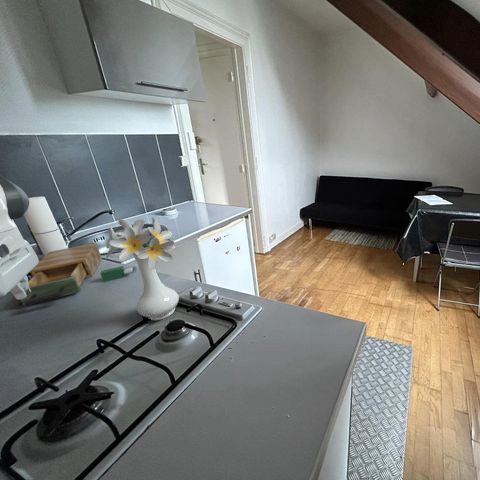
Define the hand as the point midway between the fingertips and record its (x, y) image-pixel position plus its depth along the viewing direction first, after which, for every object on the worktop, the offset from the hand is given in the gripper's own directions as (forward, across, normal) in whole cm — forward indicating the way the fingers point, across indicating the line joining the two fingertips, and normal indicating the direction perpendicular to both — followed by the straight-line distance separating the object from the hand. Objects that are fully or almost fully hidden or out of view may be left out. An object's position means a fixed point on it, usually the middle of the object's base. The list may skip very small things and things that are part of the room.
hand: (24, 296), depth 64 cm
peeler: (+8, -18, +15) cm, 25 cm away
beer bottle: (+8, -65, -14) cm, 67 cm away
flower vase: (+8, +14, +28) cm, 33 cm away
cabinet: (+8, -33, 0) cm, 34 cm away
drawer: (+7, -17, 0) cm, 19 cm away
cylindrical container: (+8, -50, -8) cm, 51 cm away
